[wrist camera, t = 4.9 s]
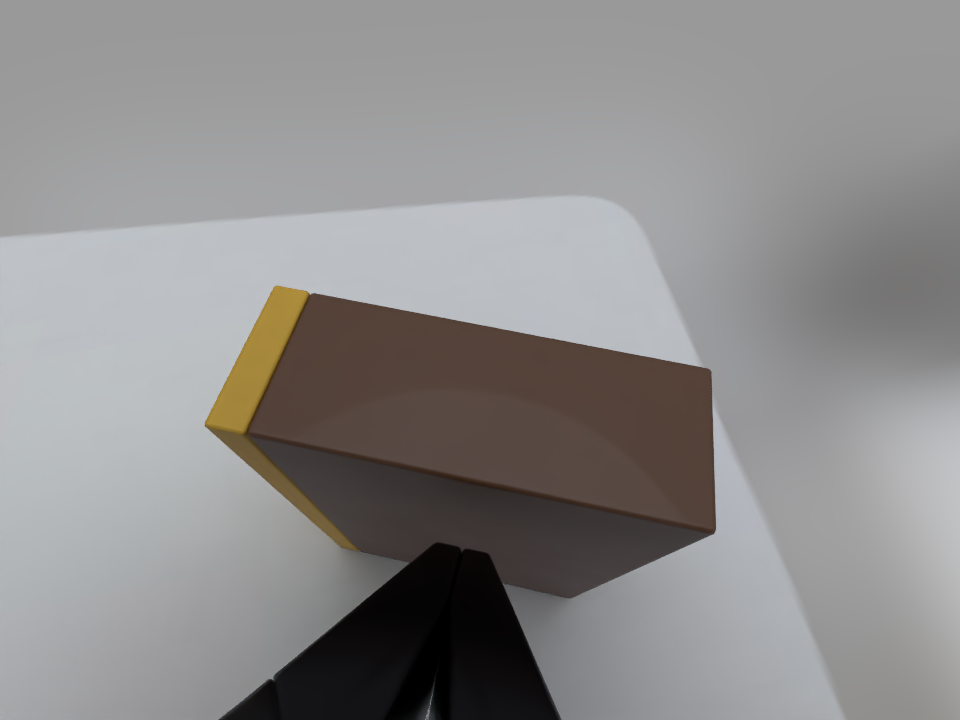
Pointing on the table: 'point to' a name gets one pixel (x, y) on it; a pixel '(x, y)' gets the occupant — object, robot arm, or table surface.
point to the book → (472, 440)
